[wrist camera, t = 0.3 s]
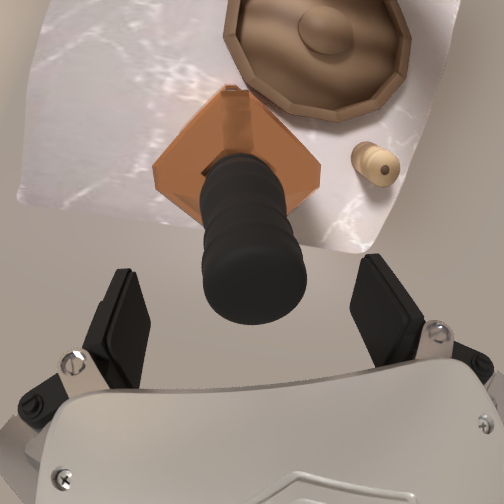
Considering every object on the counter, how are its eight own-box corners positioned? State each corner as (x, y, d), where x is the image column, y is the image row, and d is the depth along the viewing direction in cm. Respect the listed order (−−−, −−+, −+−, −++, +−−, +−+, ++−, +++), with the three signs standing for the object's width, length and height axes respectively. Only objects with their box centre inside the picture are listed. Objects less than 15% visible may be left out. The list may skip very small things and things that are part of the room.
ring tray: (238, -55, 21) (239, -62, 19) (406, -8, 24) (415, -11, 22) (215, 104, 34) (214, 105, 32) (386, 133, 38) (394, 136, 36)
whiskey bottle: (177, 133, 36) (64, 297, 9) (229, 79, 32) (256, 58, 6) (233, 180, 40) (260, 398, 14) (285, 132, 37) (431, 282, 10)
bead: (354, 138, 38) (373, 148, 33) (383, 145, 39) (404, 156, 34) (347, 170, 41) (365, 184, 36) (375, 175, 41) (394, 189, 36)
